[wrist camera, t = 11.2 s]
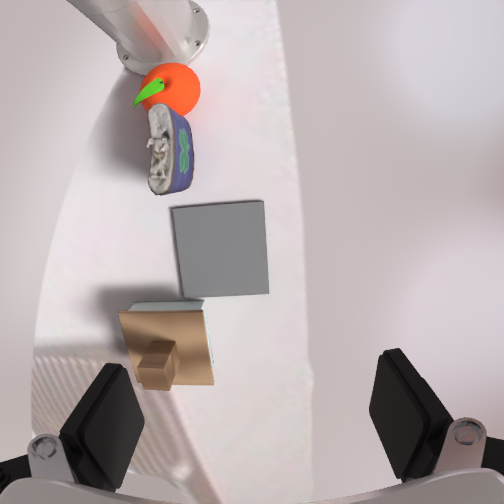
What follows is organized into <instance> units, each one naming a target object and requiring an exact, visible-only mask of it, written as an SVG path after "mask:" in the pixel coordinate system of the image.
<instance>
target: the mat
mask: <svg viewBox="0 0 504 504" xmlns="http://www.w3.org/2000/svg"><path fill="white" fill-rule="evenodd" d="M173 214H174V223H175V232H176V240H177V249H178V256H179V264H180V271H181V279H182V285H183V292H184V298H198V297H220V296H239V295H256V294H269V282H268V264H267V246H266V229H265V213H264V201H260V202H245V203H231V204H218V205H206V206H194V207H184V208H174V209H173Z"/></svg>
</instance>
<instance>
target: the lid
mask: <svg viewBox="0 0 504 504" xmlns="http://www.w3.org/2000/svg"><path fill="white" fill-rule="evenodd" d="M118 315H119V319H120V323H121V327H122V331H123V335H124V339H125V342H126V346H127V350H128V353H129V357H130V360H131V363H132V367H133V370H134V373H135V376H136V379H137V383H142V385H143V389H147V390H163V391H170V388H171V385H214V377H213V371H212V365H211V359H210V353H209V346H208V339H207V333H206V326H205V319H204V311H203V310H163V311H120V312H119V313H118Z"/></svg>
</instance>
